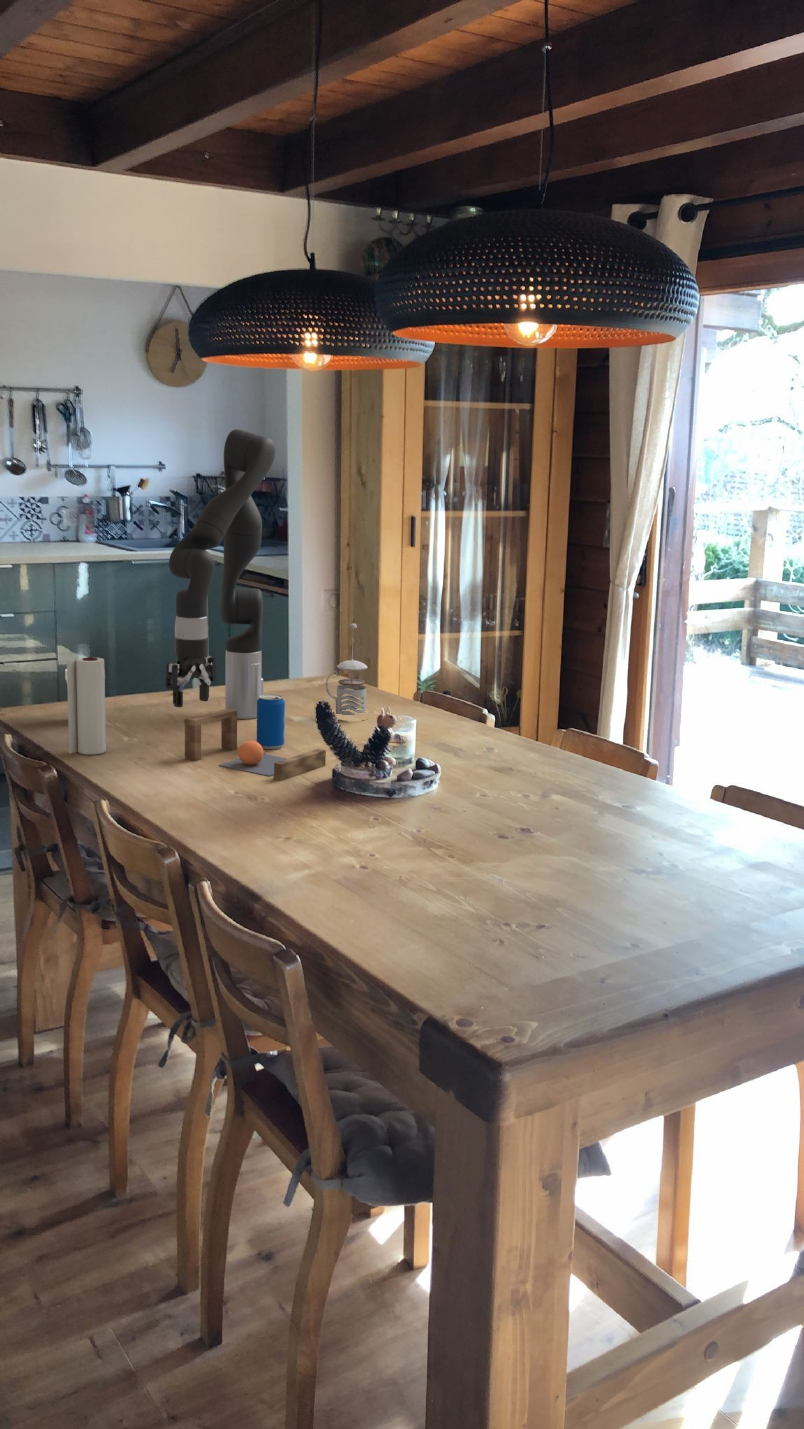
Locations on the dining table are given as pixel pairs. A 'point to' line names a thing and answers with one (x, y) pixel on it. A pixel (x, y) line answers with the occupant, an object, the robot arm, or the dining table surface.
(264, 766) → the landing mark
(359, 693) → the french press
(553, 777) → the dining table surface
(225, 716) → the bridge
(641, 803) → the dining table surface
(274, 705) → the beverage can
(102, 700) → the paper towel roll
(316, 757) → the stopper
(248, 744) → the ball
